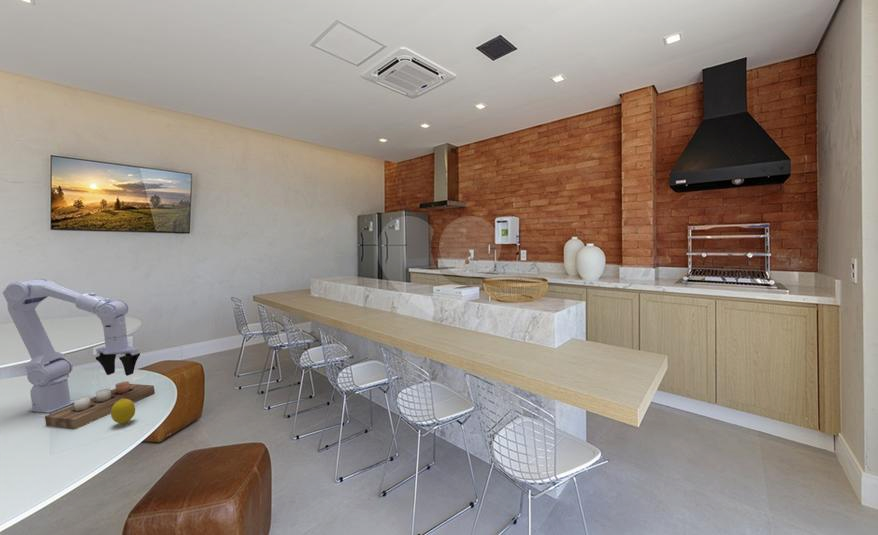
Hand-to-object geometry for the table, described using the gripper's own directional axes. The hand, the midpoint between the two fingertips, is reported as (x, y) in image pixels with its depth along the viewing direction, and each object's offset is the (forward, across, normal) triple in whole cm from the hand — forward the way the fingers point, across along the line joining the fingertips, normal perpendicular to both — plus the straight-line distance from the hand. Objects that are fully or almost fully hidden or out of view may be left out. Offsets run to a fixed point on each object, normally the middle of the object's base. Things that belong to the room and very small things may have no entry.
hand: (120, 374), depth 123 cm
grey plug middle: (+7, -1, -5) cm, 9 cm away
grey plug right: (+7, -2, -11) cm, 13 cm away
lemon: (+10, +16, -14) cm, 23 cm away
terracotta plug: (+7, -1, +1) cm, 7 cm away
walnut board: (+10, -1, -5) cm, 11 cm away
